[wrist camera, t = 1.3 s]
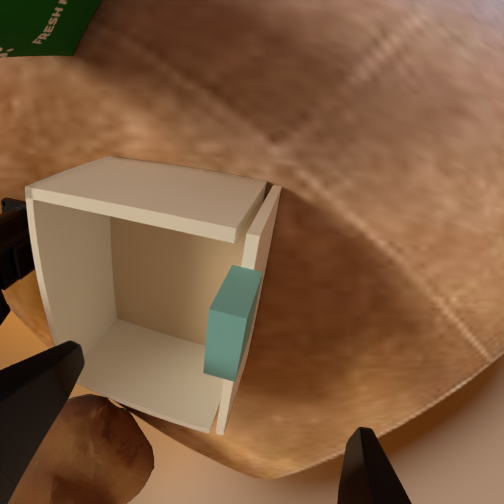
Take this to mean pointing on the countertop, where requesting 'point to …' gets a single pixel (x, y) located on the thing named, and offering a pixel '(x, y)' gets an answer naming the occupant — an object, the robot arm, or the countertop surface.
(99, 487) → the butternut squash
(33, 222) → the carton
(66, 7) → the milk carton
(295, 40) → the countertop surface
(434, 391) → the countertop surface
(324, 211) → the countertop surface
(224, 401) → the carton flap
